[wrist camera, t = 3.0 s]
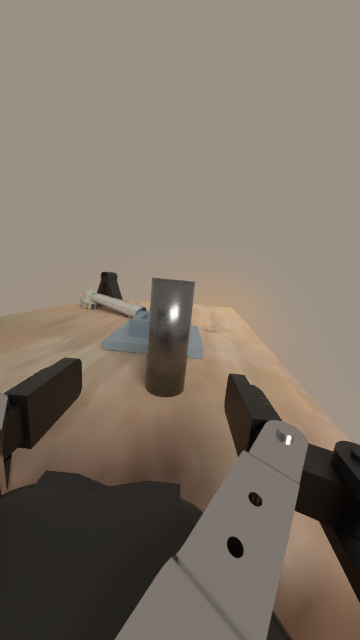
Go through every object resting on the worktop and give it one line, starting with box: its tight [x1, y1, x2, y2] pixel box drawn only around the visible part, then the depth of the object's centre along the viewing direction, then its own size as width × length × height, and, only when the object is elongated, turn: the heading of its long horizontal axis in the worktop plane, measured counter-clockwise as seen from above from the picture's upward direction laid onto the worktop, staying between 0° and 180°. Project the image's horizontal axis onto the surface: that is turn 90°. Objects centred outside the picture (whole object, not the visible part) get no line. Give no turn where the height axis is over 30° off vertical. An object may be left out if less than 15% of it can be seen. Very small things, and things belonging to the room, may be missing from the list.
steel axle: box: [146, 278, 195, 397], centre depth 22 cm, size 4×4×12 cm
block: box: [102, 311, 203, 359], centre depth 39 cm, size 16×16×4 cm
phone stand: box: [97, 272, 122, 307], centre depth 72 cm, size 9×6×12 cm, turn 79°
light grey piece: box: [80, 289, 147, 318], centre depth 61 cm, size 5×7×25 cm
